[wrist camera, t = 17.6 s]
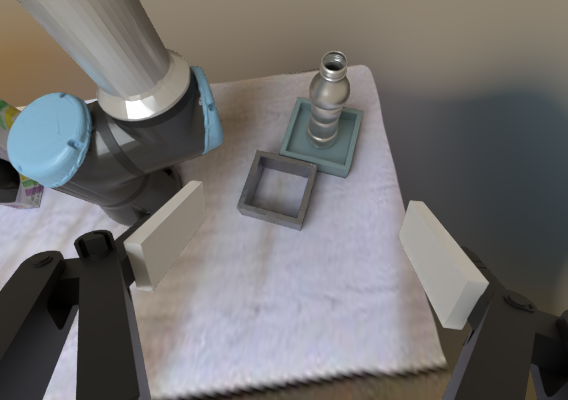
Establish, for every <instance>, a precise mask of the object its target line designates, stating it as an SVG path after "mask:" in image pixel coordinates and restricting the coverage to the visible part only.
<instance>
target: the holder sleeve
mask: <svg viewBox="0 0 568 400" xmlns="http://www.w3.org/2000/svg"><path fill="white" fill-rule="evenodd" d="M317 166H318V165H316V164H312V163H308V162H304V161H300V160H296V159H292V158H288V157H284V156H280V155H276V154H272V153H268V152H264V151H259V150H257V152H256V155H255V158H254V160H253V163H252V166H251V169H250V172H249V174H248V177H247V180H246V183H245V185H244V188H243V191H242V194H241V197H240V199H239V202H238V205H237V209H238V210H239V211H240V212H241V214H243V215H246V216H250V217H253V218H257V219H260V220H264V221H267V222H271V223H275V224H278V225H282V226H285V227H289V228H292V229H296V230H299V231H300V230H301V227H302V223H303V219H304V216H305V212H306V209H307V205H308V201H309V198H310V194H311V190H312V187H313V183H314V180H315V176H316V171H317ZM263 167H266V168H270V169H274V170H278V171H282V172H286V173H290V174H294V175H298V176H302V177H306V178H308V182H307V185H306V189H305V192H304V196H303V199H302V203H301V206H300V210H299V213H298V217H297V218H293V217H290V216H286V215H282V214H279V213H275V212H271V211H268V210H264V209H261V208H257V207H253V206H250V205H251V202H252V199H253V196H254V193H255V190H256V187H257V185H258V182H259V179H260V176H261V173H262V170H263Z"/></svg>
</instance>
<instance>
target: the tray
mask: <svg viewBox="0 0 568 400" xmlns="http://www.w3.org/2000/svg"><path fill="white" fill-rule="evenodd" d="M310 114H311V103H310V100H309V99H304V98H300V97H298V98H297V101H296V104H295V107H294V110H293V113H292V116H291V119H290V122H289V125H288V128H287V131H286V134H285V137H284V140H283V143H282V146H281V149H280V153H279V155H280V156H284V157H288V158H292V159H296V160H300V161H304V162H308V163H312V164H316V165H318V166H317V171H319V172H323V173H327V174H331V175H335V176H339V177H343V178H346V176H347V174H348V172H349V169H350V165H351V161H352V156H353V152H354V148H355V144H356V139H357V135H358V131H359V127H360V122H361V118H362V114H363V111H360V110H355V109H351V108H346V107H343V109H342V111H341V114H340V117H339V121H338V135H337V138H336V140H335V142H334V143H333V144H332V145H331V146H330V147H328V148H326V149H317V148H315V147H313V146H312V145H310V144H309V142H308V140H307V137H306V127H307V124H308V122H309V119H310Z"/></svg>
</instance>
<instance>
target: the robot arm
mask: <svg viewBox="0 0 568 400" xmlns="http://www.w3.org/2000/svg"><path fill="white" fill-rule="evenodd" d="M18 1H19V3H20V4H21V5H22V6H23V7H24V8H25V9H26V10H27V11H28V12H29V13H30V14H31V15H32V16H33V17H34V18H35V19H36V20H37V21H38V23H39V24H40V25H42V27H43V28H44V29H45V30H46V31H47V32H48V33H49V34H50V35H51V36H52V37H53V38H54V39H55V40H56V41H57V43H58V44H59V45H60V46H61V47H62V48H63V49H64V50H65V51H66V52H67V53H68V54H69V55H70V56H71V57H72V58H73V59H74V60H75V62H77V64H78V65H79V66H80V67H81V68H82V69H83V70H84V71H85V72H86V73H87V74H88V75H89V76H90V77H91V78H92V79H93V81H94V82H95V83H96V84H97V85H98V86H97V100H98V101H95V102H92V103H89V104H86V103H85V102H84V101H83V100H82V99H80V98H78V97H75V96H73V95H70V94H66V93H62V92H57V93H51V94H47V95H44V96H42V97H40V98H38V99H36V100H35V101H33V102H32V103H30V104H29V105H28V106H27V107H26V108H25V109H24V110H23V111H22V112H21V113H20V114H19V115H18V117H17V119H16V121H15V122H14V123H13V125H12V127H11V129H10V132H9V135H8V139H7V153H8V157H9V160H10V162H11V164H12V165H13V167H14V168H15V169H16V170H17V171H18V172H19V173H21V174H22V175H24V176H26V177H28V178H30V179H32V180H34V181H37V182H39V183H40V184H41V185H43V186H44V187H48V188H52V189H54V190H57V191H60V192H63V193H66V194H69V195H71V196H74V197H77V198H80V199H83V200H85V201H88V202H91V203H94V204H97V205H99V206H100V207H101V208H102V209H103V210H104V211H105V212H106V214H107V215H108V216H109V217H110V218H112V219H113V220H114V221H116V222H118V223H120V224H123V225H126V226H129V227H130V228H129V229H128V230H127V231H125V232H124V233H123V234H122V235H121V236H119V237H118V238H117V239H116V240H115V241H114V238H113V235H112V233H111V232H110V231H107V230H96V231H92V232H88V233H86V234H84V235H82V236H80V237H79V238H77V239H76V240H75V242H74V246H75V248H76V250H77V253H78V255H79V258H73V259H64V258H63V255H62V254H61V253H60V252H59V251H45V252H41V253H38V254H35V255H33V256H31V257H30V258H28V259H26V260H25V261H24V262H23V263H22V264H21V265H20V266H19V267H18V269H17V270H16V271H15V273H14V274H13V275H12V276H11V278H10V279H9V280H8V282H7V283H6V284H5V286H4V287H3V288H2V290H1V291H0V400H42V399H43V397H44V394H45V392H46V389H47V387H48V384H49V382H50V379H51V377H52V374H53V372H54V369H55V367H56V364H57V362H58V359H59V356H60V354H61V351H62V349H63V346H64V344H65V341H66V339H67V336H68V334H69V331H70V329H71V326H72V324H73V321H74V319H75V316H76V314H77V311H78V308H79V320H78V352H77V385H76V400H151V396H150V391H149V386H148V380H147V375H146V370H145V364H144V359H143V354H142V348H141V343H140V338H139V332H138V327H137V322H136V316H135V311H134V306H133V300H132V295H131V291H130V287H129V286H130V285H131V284H132V283H133V282H134V281H135V282H136V286H137V289H139V290H147V291H154V289H155V288H156V287H157V285H158V284H159V283H160V281H161V280H162V278H163V277H164V276H165V274H166V273H167V271H168V270H169V269H170V267H171V266H172V265H173V263H174V262H175V260H176V259H177V258H178V256H179V255H180V254H181V252H182V251H183V249H184V248H185V247H186V245H187V244H188V242H189V241H190V240H191V238H192V237H193V236H194V234H195V233H196V231H197V230H198V229H199V227H200V226H201V224H202V223H203V222H204V220H205V219H206V209H205V200H204V191H203V182H201V181H190V182H189V183H188V184H187V185H186V186H185V187H183V188H182V189H181V181H180V177H179V175H178V173H177V171H176V170H175V169H174V168H173V167H172V166H173V165H175V164H178V163H181V162H184V161H186V160H189V159H192V158H195V157H198V156H200V155H204V154H206V152H208V151H211V150H213V149H215V148H217V147H219V146H220V145H221V144H222V143H223V140H224V134H223V129H222V125H221V121H220V118H219V115H218V111H217V109H216V107H215V102H214V99H213V95H212V92H211V89H210V87H209V84H208V81H207V78H206V76H205V74H204V71H203V69H202V68H201V67H199V66H196V67H194V66H191V67H189V65H188V63H187V62H186V60H185V59H184V58H183V57H182V56H181V55H180V54H179V53H177V52H175V51H173V50H170V49H167V48H165V46H164V45H163V43H162V41H161V39H160V37H159V35H158V33H157V32H156V30H155V28H154V26H153V24H152V23H151V21H150V19H149V17H148V15H147V13H146V11H145V10H144V8H143V6H142V4H141V2H140V0H18ZM398 238H399V240H400V242H401V244H402V246H403V248H404V250H405V252H406V254H407V256H408V258H409V260H410V262H411V264H412V266H413V268H414V270H415V272H416V274H417V276H418V278H419V280H420V282H421V284H422V286H423V288H424V290H425V292H426V294H427V296H428V298H429V300H430V302H431V304H432V306H433V308H434V310H435V312H436V314H437V316H438V318H439V320H440V322H441V324H442V326H443V327H445V328H452V329H460V330H462V328H463V327H464V325H465V323H466V322H467V320H468V322H469V323H470V325H471V327H472V328H473V329H472V330H471V332H470V334H469V335H468V337H467V339H466V340H465V342H464V344H463V346H464V348H463V351H462V353H461V355H460V357H459V360H458V362H457V364H456V367H455V369H454V372H453V374H452V376H451V379H450V381H449V383H448V386H447V388H446V390H445V393H444V395H443V398H442V400H525V395H526V389H527V382H528V376H529V370H530V369H531V374H532V378H533V382H534V386H535V391H536V396H537V400H568V310H566V311H564V312H563V313H562V315H561V316H560V317H558V316H554V315H551V314H548V313H545V312H541V311H538V309H537V308H536V306H535V305H534V304H533V303H532V302H531V301H530V300H528V299H527V298H526V297H524V296H522V295H520V294H519V293H516V292H513V291H511V290H506V289H505V288H504V286H503V285H502V284H501V283H500V282H499V281H498V280H497V278H496V277H495V276H494V275H493V274H492V273H491V271H490V270H489V269H487V267H486V266H485V265H484V263H482V261H481V260H480V259H479V258H478V257H477V256H476V255H475V253H473V252H472V251H470V250H469V249H468V248H466V247H461V246H459V245H458V244H457V243H456V242H455V240H454V239H453V238H452V237H451V236H450V234H449V233H448V232H447V231H446V229H445V228H444V227H443V226H442V225H441V223H440V222H439V221H438V220H437V218H436V217H435V216H434V215H433V213H432V212H431V211H430V210H429V209H428V207H427V206H426V205H425V204H424V202H421V201H410V202H409V205H408V209H407V212H406V215H405V218H404V221H403V224H402V227H401V230H400V234H399V237H398Z"/></svg>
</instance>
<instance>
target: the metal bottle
mask: <svg viewBox="0 0 568 400" xmlns="http://www.w3.org/2000/svg"><path fill="white" fill-rule="evenodd" d="M347 63H348V61H347V57H346V56H345V55H344V54H343V53H341V52H339V51H330V52H327V53H326V54H325V55H324V56H323V58H322V61H321V66H320V72H318V73H317V74H316V75H315V76H314V78H313V80H312V82H311V84H310V87H309V95H310V103H311V114H310V119H309V122H308V124H307V127H306V137H307V140H308V142H309V144H310V145H312V146H313V147H315V148H317V149H326V148H328V147H330V146H331V145H332V144H333V143H334V142H335V140H336V138H337V135H338V121H339V117H340V114H341V111H342V109H343V107H344V105H345V104H346V102H347V99H348V97H349V94H350V84H349V81H348V79H347V77H346V71H347Z"/></svg>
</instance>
